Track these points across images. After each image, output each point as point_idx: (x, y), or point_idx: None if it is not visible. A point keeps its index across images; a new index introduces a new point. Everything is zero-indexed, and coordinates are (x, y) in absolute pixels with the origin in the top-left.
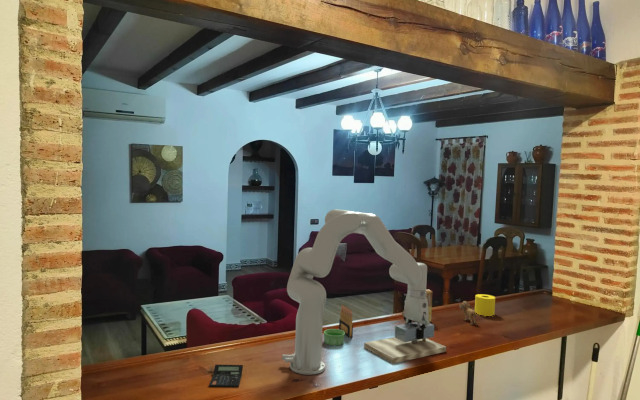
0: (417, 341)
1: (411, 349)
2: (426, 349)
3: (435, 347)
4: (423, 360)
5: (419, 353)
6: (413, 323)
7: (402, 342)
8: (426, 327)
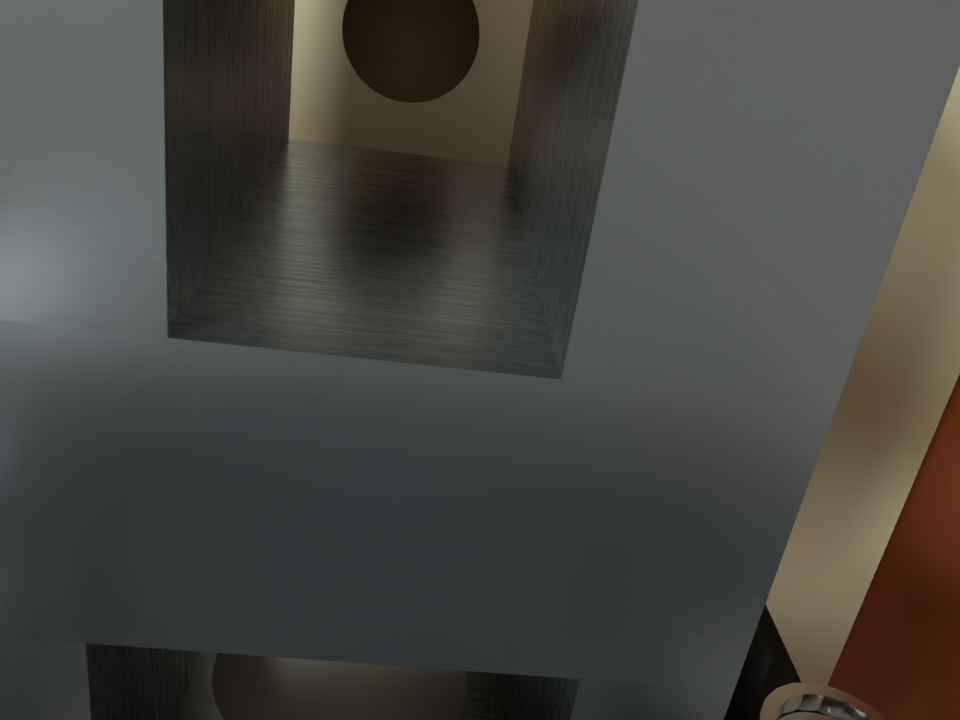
0: None
1: None
2: (844, 474)
3: (952, 175)
4: (904, 645)
5: (816, 679)
6: (41, 704)
7: None
8: (774, 460)
